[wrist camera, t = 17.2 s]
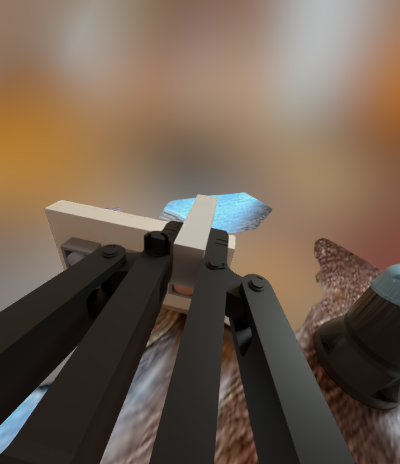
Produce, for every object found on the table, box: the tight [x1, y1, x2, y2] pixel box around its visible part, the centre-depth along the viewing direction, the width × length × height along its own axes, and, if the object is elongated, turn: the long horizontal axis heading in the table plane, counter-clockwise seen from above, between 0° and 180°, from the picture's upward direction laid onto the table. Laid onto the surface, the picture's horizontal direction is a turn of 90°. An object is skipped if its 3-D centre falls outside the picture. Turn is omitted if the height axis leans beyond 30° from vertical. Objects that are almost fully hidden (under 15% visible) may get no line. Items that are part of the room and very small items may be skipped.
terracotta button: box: [174, 284, 194, 295], centre depth 35 cm, size 2×4×4 cm, turn 81°
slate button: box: [67, 252, 88, 266], centre depth 36 cm, size 2×4×4 cm, turn 80°
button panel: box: [45, 200, 235, 314], centre depth 41 cm, size 11×34×20 cm, turn 80°
